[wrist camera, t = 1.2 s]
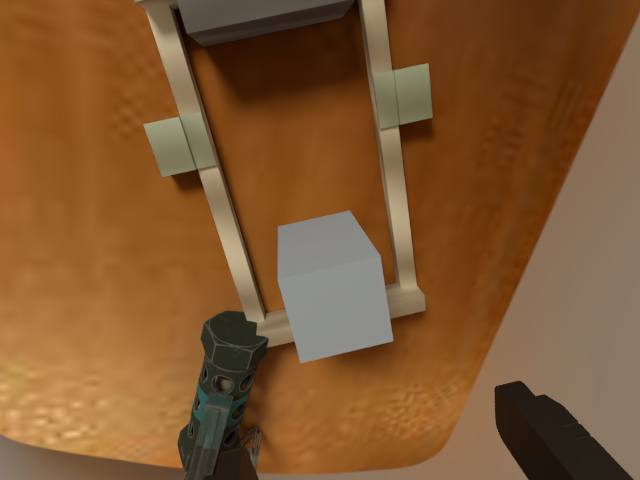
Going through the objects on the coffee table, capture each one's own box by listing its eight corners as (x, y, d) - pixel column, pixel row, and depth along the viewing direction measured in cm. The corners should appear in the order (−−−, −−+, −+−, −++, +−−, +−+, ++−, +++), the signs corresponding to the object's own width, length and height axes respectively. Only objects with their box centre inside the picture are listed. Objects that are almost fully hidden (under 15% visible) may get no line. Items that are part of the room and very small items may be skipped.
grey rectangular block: (277, 226, 24) (277, 279, 17) (349, 210, 25) (380, 256, 17) (294, 290, 26) (300, 363, 19) (361, 274, 26) (393, 341, 19)
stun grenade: (214, 301, 26) (182, 442, 31) (185, 355, 21) (150, 521, 25) (296, 322, 27) (253, 457, 31) (291, 380, 21) (240, 536, 25)
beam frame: (106, -4, 19) (64, -31, 15) (407, -66, 19) (438, -106, 16) (227, 336, 27) (219, 373, 23) (439, 286, 27) (464, 315, 24)
